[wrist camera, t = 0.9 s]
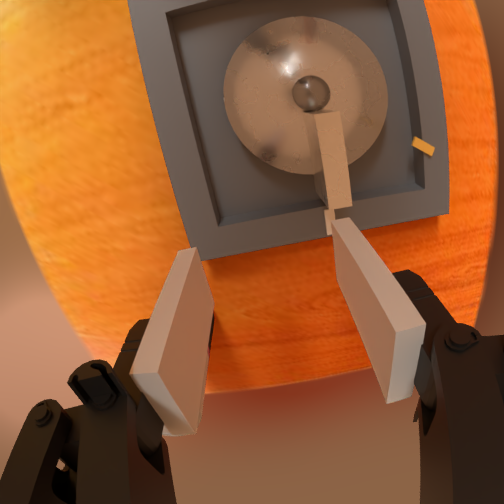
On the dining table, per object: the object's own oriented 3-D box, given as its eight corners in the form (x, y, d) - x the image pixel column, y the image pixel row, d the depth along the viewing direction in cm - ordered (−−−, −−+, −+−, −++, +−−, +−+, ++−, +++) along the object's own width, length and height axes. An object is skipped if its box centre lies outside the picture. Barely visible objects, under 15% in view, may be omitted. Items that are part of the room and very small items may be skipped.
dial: (210, 36, 23) (197, 17, 17) (363, 17, 22) (393, -2, 15) (247, 198, 30) (246, 226, 23) (389, 173, 28) (423, 193, 22)
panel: (138, 5, 22) (125, -4, 19) (397, -28, 20) (412, -38, 17) (200, 247, 33) (195, 263, 30) (434, 203, 31) (450, 214, 28)
